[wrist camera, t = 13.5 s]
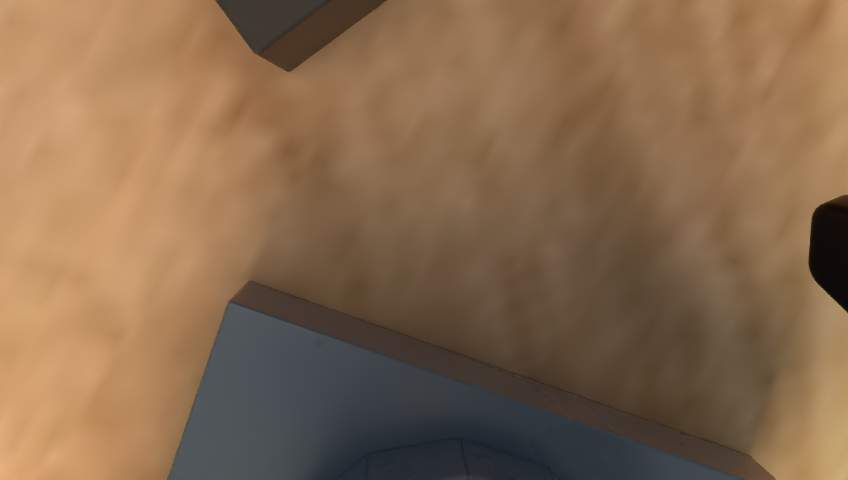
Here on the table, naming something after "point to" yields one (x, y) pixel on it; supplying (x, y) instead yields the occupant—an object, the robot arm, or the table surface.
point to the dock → (293, 25)
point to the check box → (405, 412)
